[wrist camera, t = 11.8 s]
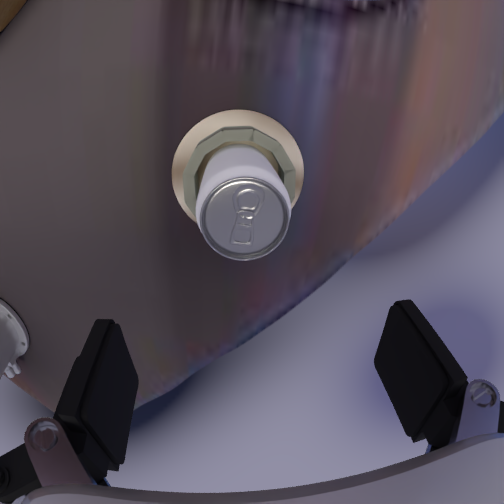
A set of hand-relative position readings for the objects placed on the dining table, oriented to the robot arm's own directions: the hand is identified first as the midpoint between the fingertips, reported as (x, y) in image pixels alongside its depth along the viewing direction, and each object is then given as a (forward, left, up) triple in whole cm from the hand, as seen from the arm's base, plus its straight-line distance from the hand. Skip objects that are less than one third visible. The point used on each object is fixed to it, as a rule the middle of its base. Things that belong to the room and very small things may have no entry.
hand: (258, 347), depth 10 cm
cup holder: (0, 0, -24) cm, 24 cm away
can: (0, 0, -23) cm, 23 cm away
